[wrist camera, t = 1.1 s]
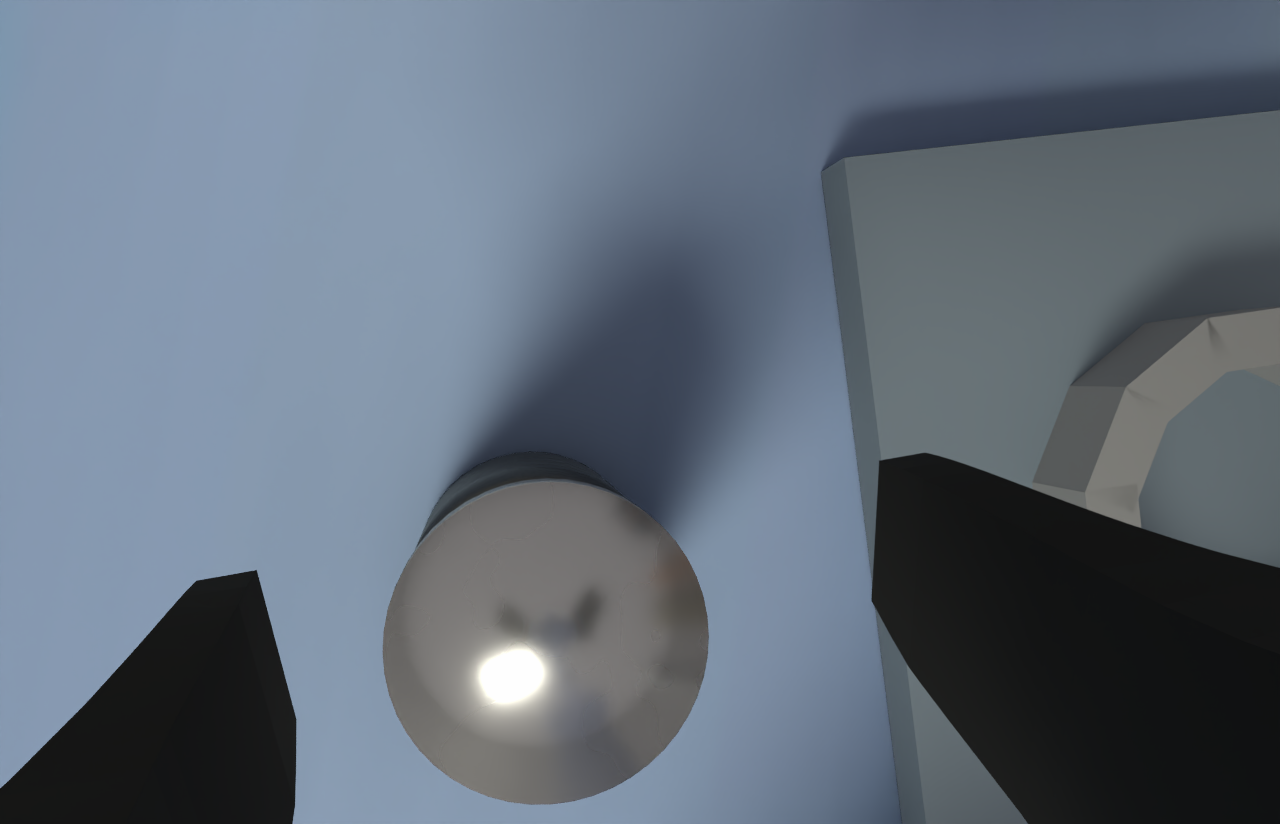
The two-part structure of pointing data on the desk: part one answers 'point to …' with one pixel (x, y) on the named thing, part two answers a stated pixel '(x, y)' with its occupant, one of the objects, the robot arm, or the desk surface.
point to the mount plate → (1065, 351)
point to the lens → (543, 633)
